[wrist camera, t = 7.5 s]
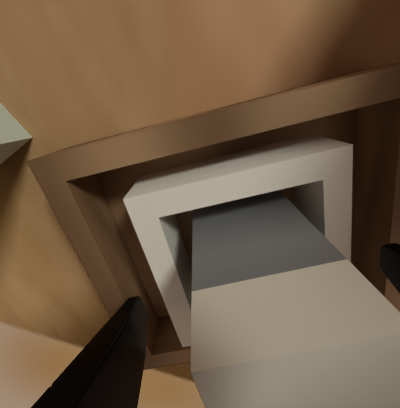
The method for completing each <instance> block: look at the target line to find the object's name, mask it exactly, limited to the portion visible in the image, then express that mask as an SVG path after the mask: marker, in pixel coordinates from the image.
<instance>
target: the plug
mask: <svg viewBox="0 0 400 408" xmlns="http://www.w3.org/2000/svg"><path fill="white" fill-rule="evenodd" d="M191 375H192V377H193V379H194V382H195V384H196V386H197V389H198V391H199V394H200V396H201V399H202V401H203V403H204V406H205V408H400V312H399V311H398V310H397V309H396V308H395V307H394V306H393V305H392V304H391V303H390V302H389V301H388V300H387V299H386V298H385V297H384V296H383V295H382V294H381V293H380V292H379V291H378V290H377V289H376V288H375V287H374V286H373V285H372V284H371V283H370V282H369V281H368V280H367V279H366V278H365V277H364V276H363V275H362V274H361V273H360V272H359V271H358V270H357V269H356V268H355V267H354V266H353V264H352V263H351V262H350V261H349V260H348V259H347V258H346V257H345V256H344V255H343V254H342V253H341V252H340V251H339V250H338V249H337V248H336V247H335V246H334V245H333V244H332V243H331V242H330V241H329V240H328V239H327V238H326V237H325V236H324V235H323V234H322V233H321V232H320V231H319V230H318V229H317V228H316V227H315V226H314V225H313V224H312V223H311V222H310V221H309V220H308V219H307V218H306V217H305V216H304V215H303V214H302V213H301V212H300V211H299V210H298V209H297V208H296V207H295V206H294V205H293V204H292V203H291V202H290V201H289V200H288V199H287V198H286V197H285V196H284V195H283V194H282V193H281V192H280V191H279V190H277V191H272V192H268V193H264V194H259V195H255V196H251V197H246V198H242V199H238V200H233V201H229V202H225V203H220V204H216V205H212V206H207V207H203V208H199V209H194V210H193V231H192V302H191Z"/></svg>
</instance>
